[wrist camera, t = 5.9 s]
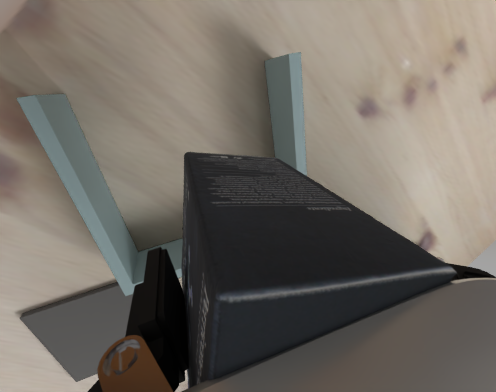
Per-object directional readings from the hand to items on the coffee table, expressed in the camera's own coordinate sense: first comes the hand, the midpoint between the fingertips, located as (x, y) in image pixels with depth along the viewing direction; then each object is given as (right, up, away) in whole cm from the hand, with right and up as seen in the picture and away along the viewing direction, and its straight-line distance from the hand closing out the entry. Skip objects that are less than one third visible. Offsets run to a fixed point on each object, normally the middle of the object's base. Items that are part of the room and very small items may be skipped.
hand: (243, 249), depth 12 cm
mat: (-16, -13, +17) cm, 27 cm away
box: (-1, +2, +4) cm, 4 cm away
